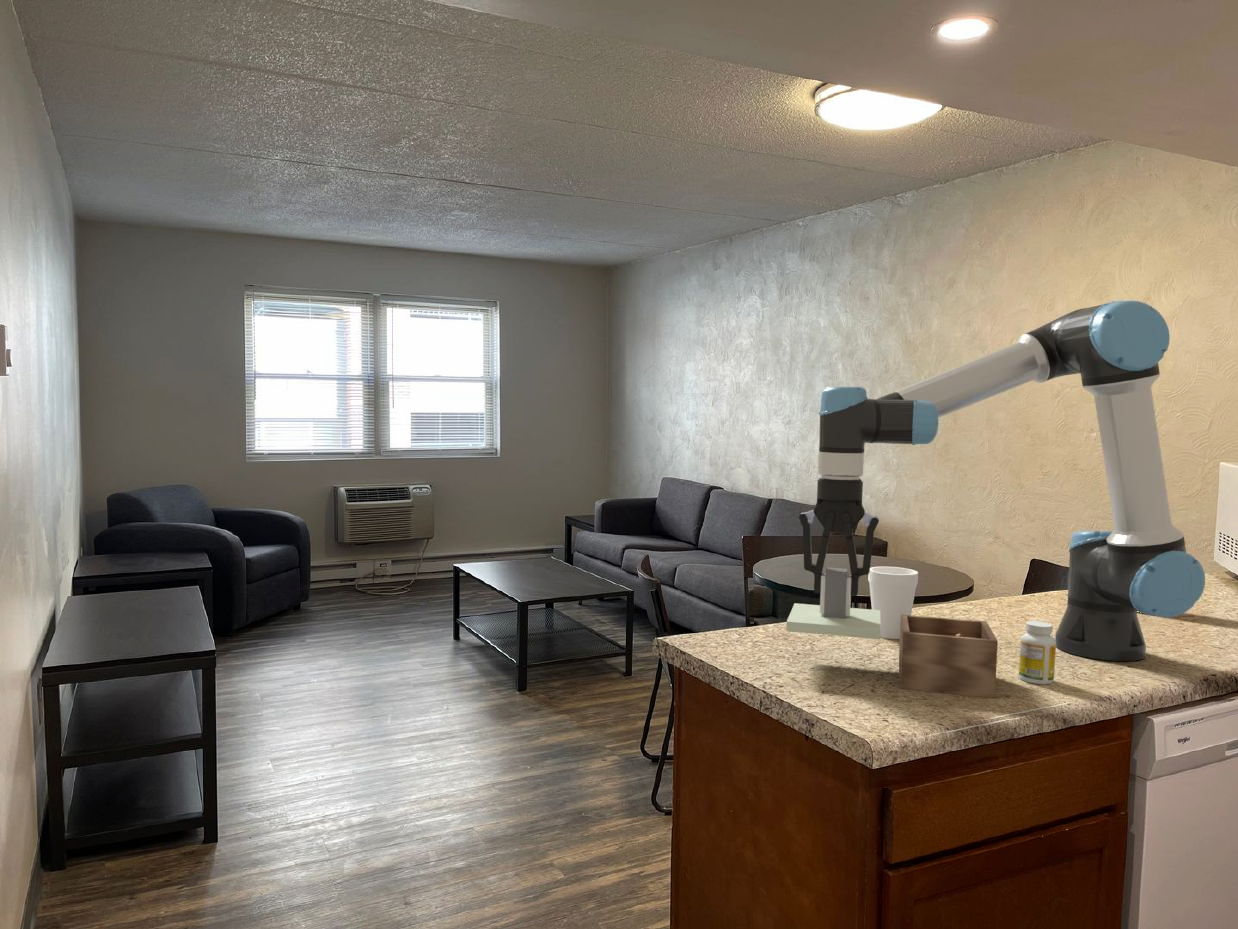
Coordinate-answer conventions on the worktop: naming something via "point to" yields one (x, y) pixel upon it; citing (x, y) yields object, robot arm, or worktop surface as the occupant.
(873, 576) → the foam cup
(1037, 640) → the supplement bottle
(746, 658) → the worktop surface
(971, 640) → the box
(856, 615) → the lid
